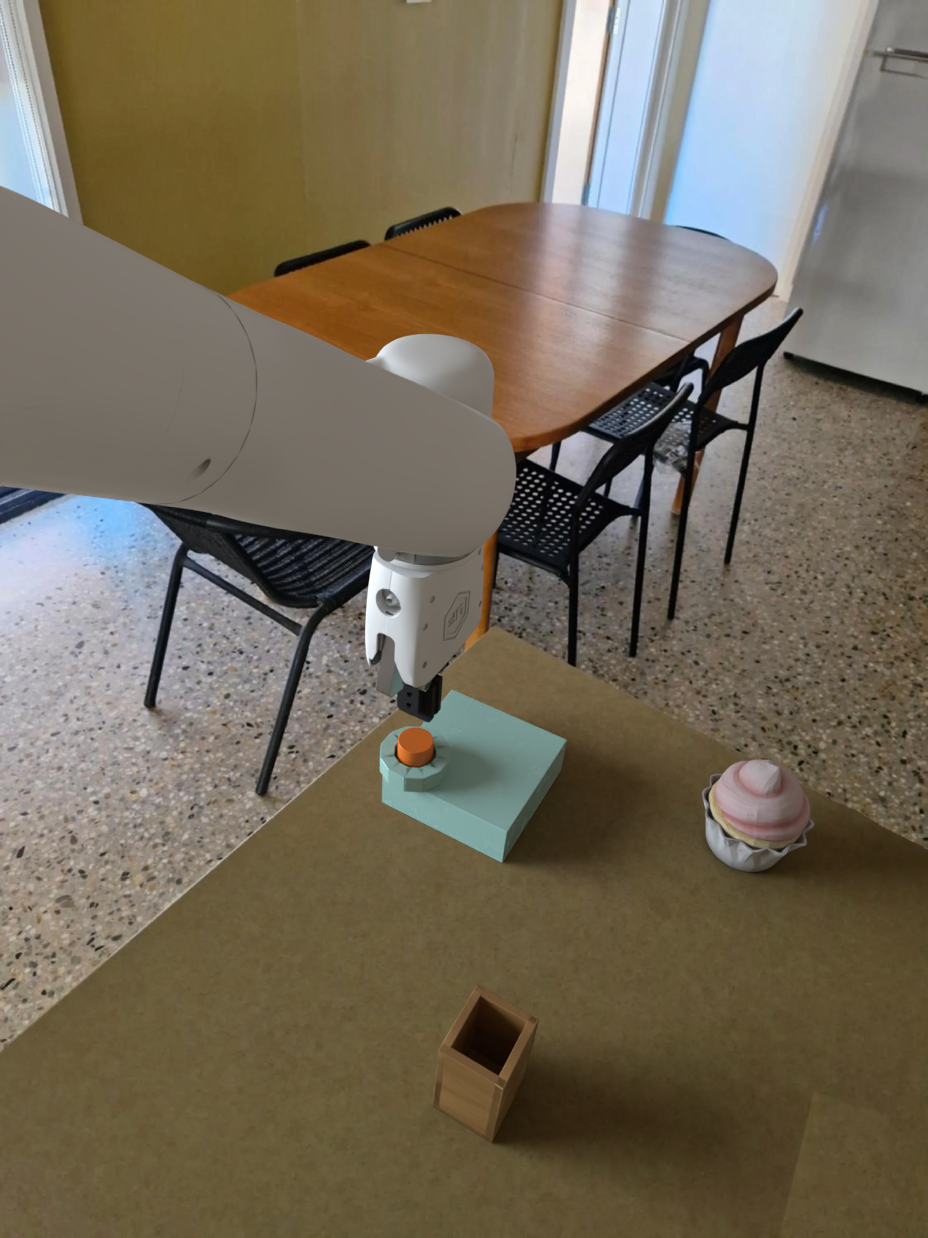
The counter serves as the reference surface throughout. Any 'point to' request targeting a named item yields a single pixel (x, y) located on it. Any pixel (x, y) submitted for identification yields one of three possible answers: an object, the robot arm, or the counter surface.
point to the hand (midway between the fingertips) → (418, 709)
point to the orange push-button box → (474, 774)
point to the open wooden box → (483, 1062)
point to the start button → (415, 747)
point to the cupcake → (755, 814)
